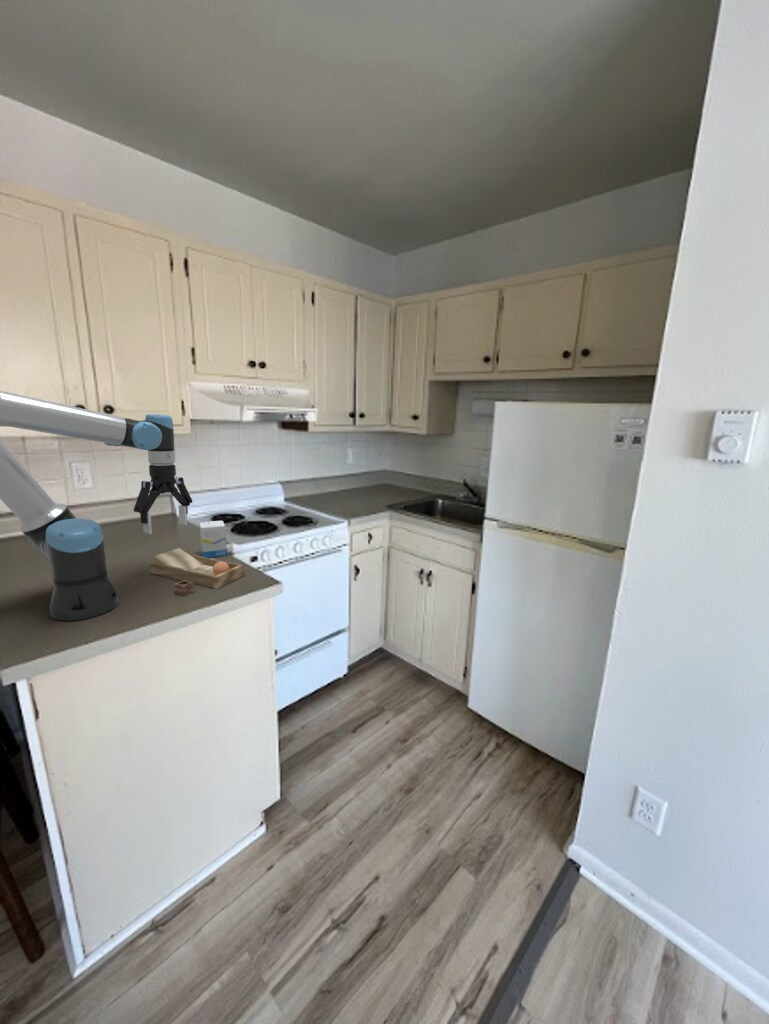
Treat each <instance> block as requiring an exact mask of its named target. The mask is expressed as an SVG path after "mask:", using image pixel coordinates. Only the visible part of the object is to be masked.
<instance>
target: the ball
mask: <svg viewBox="0 0 769 1024" xmlns="http://www.w3.org/2000/svg"><path fill="white" fill-rule="evenodd" d="M222 561H223V560H221V562H217V563H216V564H215V565H214V566H213V573H214V575H215V576H216V575H219V574H221V573H223V572H225V571H227V570H230V568H229V565H228V564H227V563H226V562H227V561H226V562H222Z"/></svg>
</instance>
